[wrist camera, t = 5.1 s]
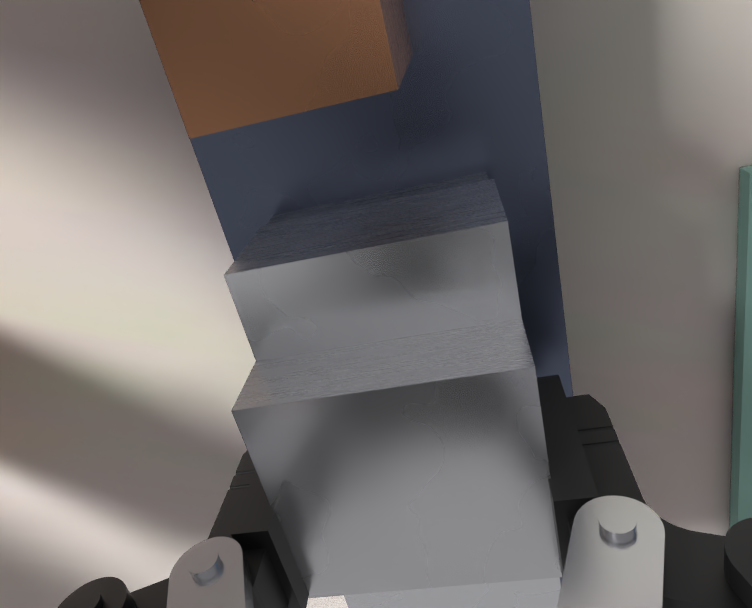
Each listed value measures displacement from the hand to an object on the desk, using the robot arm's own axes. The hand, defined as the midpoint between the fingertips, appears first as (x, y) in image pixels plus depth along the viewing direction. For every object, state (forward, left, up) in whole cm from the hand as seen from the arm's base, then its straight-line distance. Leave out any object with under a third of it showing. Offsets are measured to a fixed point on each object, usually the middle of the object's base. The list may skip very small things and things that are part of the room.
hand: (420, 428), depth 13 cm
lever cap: (0, 0, -1) cm, 1 cm away
